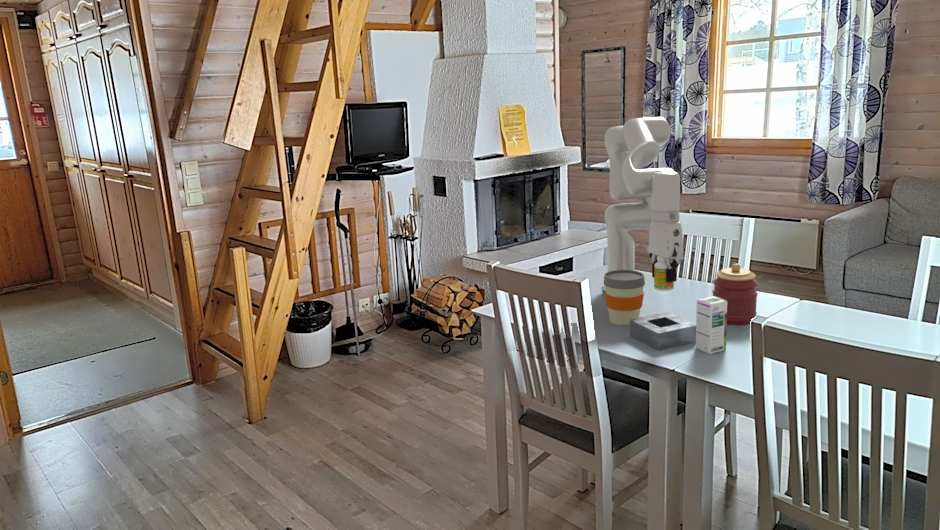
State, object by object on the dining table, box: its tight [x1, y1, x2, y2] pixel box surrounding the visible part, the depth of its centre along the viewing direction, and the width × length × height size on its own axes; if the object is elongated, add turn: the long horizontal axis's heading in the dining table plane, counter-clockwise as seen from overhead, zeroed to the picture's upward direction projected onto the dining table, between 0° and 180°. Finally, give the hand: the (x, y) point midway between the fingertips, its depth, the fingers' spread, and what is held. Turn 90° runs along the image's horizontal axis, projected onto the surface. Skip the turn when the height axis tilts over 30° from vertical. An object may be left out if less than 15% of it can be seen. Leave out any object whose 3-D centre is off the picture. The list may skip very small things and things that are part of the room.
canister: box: [711, 263, 759, 326], centre depth 204 cm, size 13×13×18 cm
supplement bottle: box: [653, 256, 675, 292], centre depth 188 cm, size 5×5×10 cm
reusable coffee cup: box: [603, 270, 646, 326], centre depth 207 cm, size 13×13×15 cm
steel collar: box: [629, 311, 696, 351], centre depth 192 cm, size 13×13×5 cm
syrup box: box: [695, 295, 728, 355], centre depth 181 cm, size 6×6×14 cm
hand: (664, 278), depth 188 cm, fingers closed on supplement bottle, 5 cm apart
